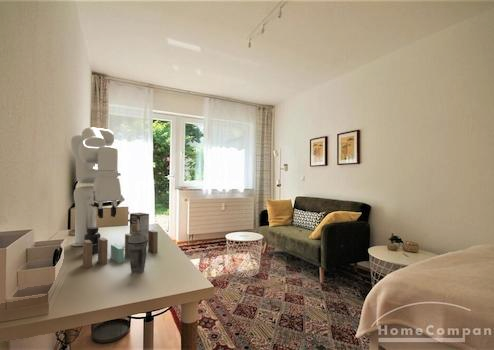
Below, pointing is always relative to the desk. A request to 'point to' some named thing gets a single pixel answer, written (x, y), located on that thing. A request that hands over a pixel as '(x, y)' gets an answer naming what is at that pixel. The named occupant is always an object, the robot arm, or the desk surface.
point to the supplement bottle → (93, 238)
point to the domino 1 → (87, 253)
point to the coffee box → (142, 222)
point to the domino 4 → (152, 241)
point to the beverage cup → (137, 250)
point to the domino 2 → (102, 250)
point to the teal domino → (117, 253)
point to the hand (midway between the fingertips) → (107, 216)
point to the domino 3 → (127, 245)
